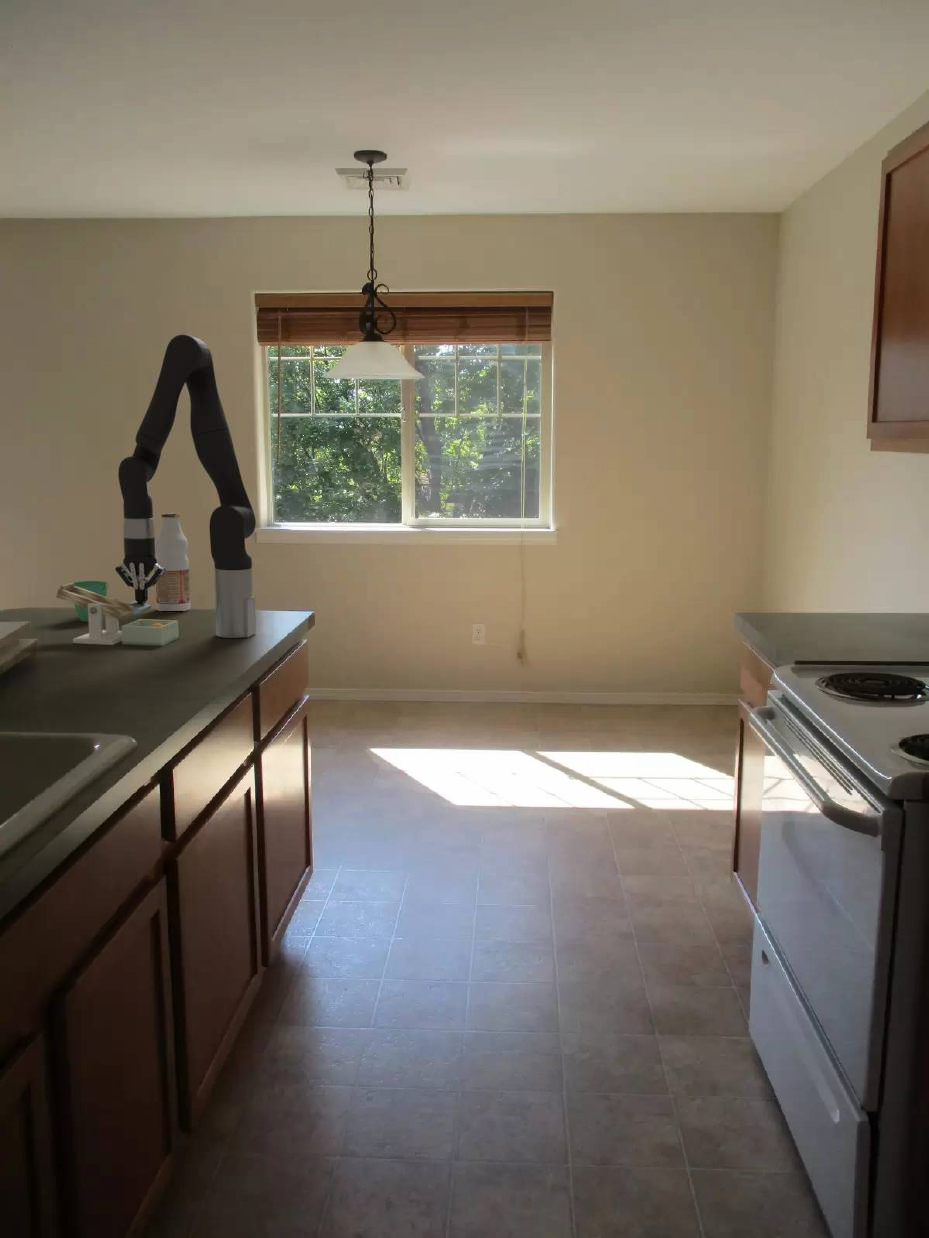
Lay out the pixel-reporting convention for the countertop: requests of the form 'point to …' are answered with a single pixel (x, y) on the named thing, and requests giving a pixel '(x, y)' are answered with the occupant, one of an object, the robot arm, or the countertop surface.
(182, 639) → the countertop surface
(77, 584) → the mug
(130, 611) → the lever
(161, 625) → the ball
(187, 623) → the countertop surface
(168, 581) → the fruit juice
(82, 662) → the countertop surface
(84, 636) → the stand
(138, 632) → the pale green tray
